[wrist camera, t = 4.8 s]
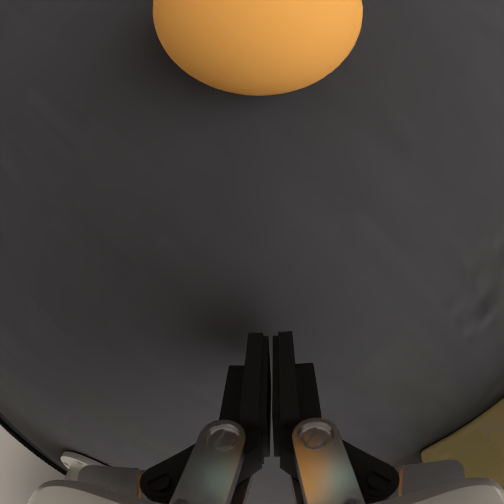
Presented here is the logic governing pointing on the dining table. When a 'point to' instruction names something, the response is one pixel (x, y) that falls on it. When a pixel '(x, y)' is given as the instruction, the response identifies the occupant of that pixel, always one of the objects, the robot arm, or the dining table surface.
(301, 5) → the ball
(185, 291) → the dining table surface
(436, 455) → the cheese
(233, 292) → the dining table surface
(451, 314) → the dining table surface
